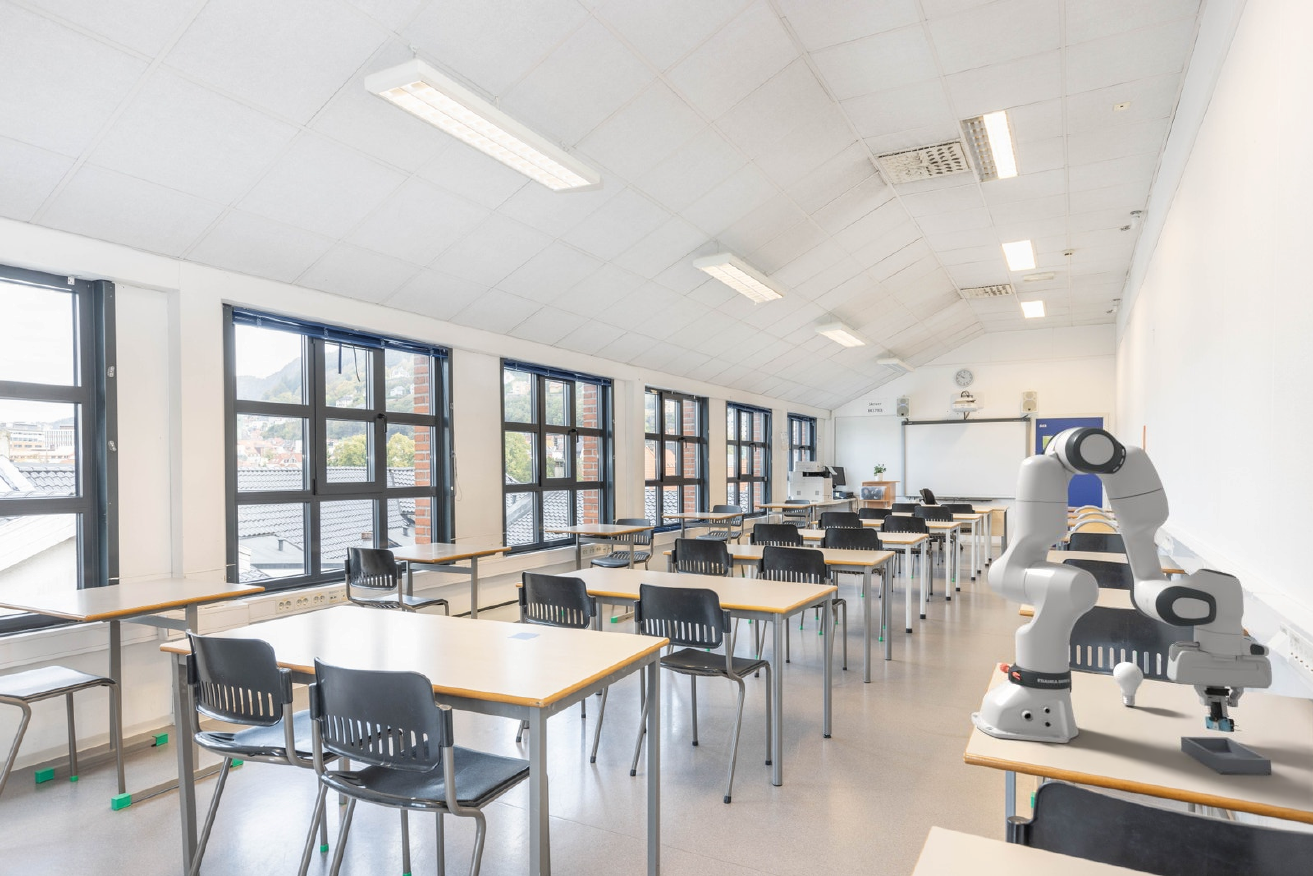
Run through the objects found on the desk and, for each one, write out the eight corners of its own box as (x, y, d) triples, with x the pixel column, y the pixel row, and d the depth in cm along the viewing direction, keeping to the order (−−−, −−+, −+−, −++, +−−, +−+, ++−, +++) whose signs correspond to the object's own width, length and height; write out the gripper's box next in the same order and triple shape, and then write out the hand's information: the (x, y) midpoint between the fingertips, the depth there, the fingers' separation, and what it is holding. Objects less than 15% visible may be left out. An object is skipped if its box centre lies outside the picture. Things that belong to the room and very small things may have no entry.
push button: (1248, 733, 156) (1241, 685, 158) (1232, 733, 154) (1226, 685, 156) (1214, 728, 162) (1208, 681, 164) (1199, 728, 160) (1193, 681, 162)
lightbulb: (1129, 711, 178) (1128, 666, 178) (1108, 703, 184) (1107, 660, 184) (1150, 709, 179) (1149, 665, 180) (1128, 701, 185) (1127, 658, 186)
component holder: (1221, 774, 142) (1220, 759, 142) (1181, 750, 154) (1181, 736, 154) (1271, 775, 142) (1270, 760, 142) (1227, 751, 153) (1227, 737, 153)
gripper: (1178, 644, 157) (1178, 707, 157) (1277, 648, 156) (1277, 713, 155) (1160, 637, 163) (1160, 698, 163) (1255, 641, 162) (1255, 703, 161)
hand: (1218, 705), depth 159 cm, fingers closed on push button, 4 cm apart
